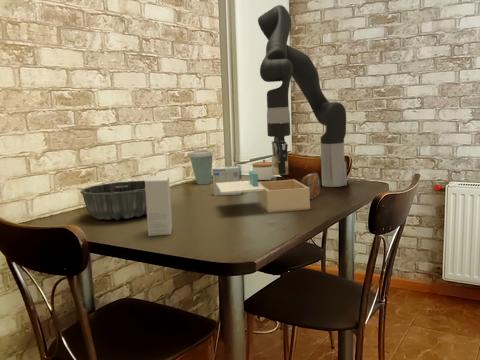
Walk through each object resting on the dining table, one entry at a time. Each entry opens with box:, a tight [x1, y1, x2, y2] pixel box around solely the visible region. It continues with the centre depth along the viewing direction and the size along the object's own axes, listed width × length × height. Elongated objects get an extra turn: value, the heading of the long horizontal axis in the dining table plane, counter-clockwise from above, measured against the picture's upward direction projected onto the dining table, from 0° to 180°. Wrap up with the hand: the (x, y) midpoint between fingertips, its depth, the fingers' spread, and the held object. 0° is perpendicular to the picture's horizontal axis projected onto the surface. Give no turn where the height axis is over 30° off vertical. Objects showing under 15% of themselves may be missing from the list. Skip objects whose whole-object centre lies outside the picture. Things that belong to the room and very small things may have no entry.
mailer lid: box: [216, 170, 265, 194], centre depth 161 cm, size 14×19×5 cm
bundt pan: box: [79, 180, 147, 221], centre depth 163 cm, size 26×26×10 cm
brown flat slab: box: [301, 172, 321, 200], centre depth 175 cm, size 15×3×8 cm, turn 154°
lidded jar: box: [252, 159, 275, 181], centre depth 221 cm, size 11×11×9 cm
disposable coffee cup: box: [189, 149, 214, 185], centre depth 221 cm, size 11×11×15 cm
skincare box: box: [144, 174, 173, 237], centre depth 137 cm, size 8×7×16 cm
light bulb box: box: [212, 165, 243, 197], centre depth 191 cm, size 11×7×11 cm, turn 84°
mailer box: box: [256, 179, 311, 214], centre depth 163 cm, size 14×19×7 cm
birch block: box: [271, 155, 289, 176], centre depth 162 cm, size 4×4×6 cm
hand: (280, 172), depth 162 cm, fingers closed on birch block, 4 cm apart
